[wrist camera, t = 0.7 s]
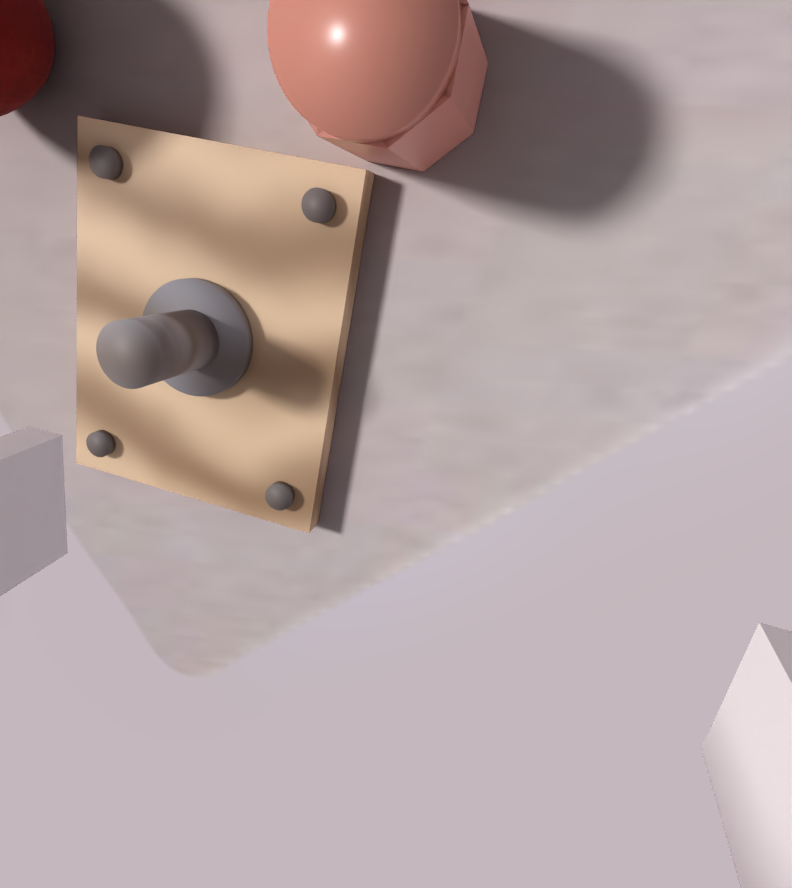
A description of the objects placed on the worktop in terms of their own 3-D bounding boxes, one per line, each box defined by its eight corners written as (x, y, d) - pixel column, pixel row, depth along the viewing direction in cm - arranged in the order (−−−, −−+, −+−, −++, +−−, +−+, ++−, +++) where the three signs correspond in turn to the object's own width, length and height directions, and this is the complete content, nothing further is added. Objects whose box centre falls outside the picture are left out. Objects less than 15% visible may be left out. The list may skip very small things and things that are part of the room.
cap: (351, -10, 28) (279, -105, 20) (499, 11, 27) (479, -83, 19) (329, 154, 30) (257, 121, 23) (464, 179, 29) (434, 153, 22)
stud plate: (97, 121, 33) (-31, 83, 25) (374, 173, 30) (318, 148, 23) (92, 455, 39) (-10, 500, 32) (318, 522, 37) (261, 588, 30)
